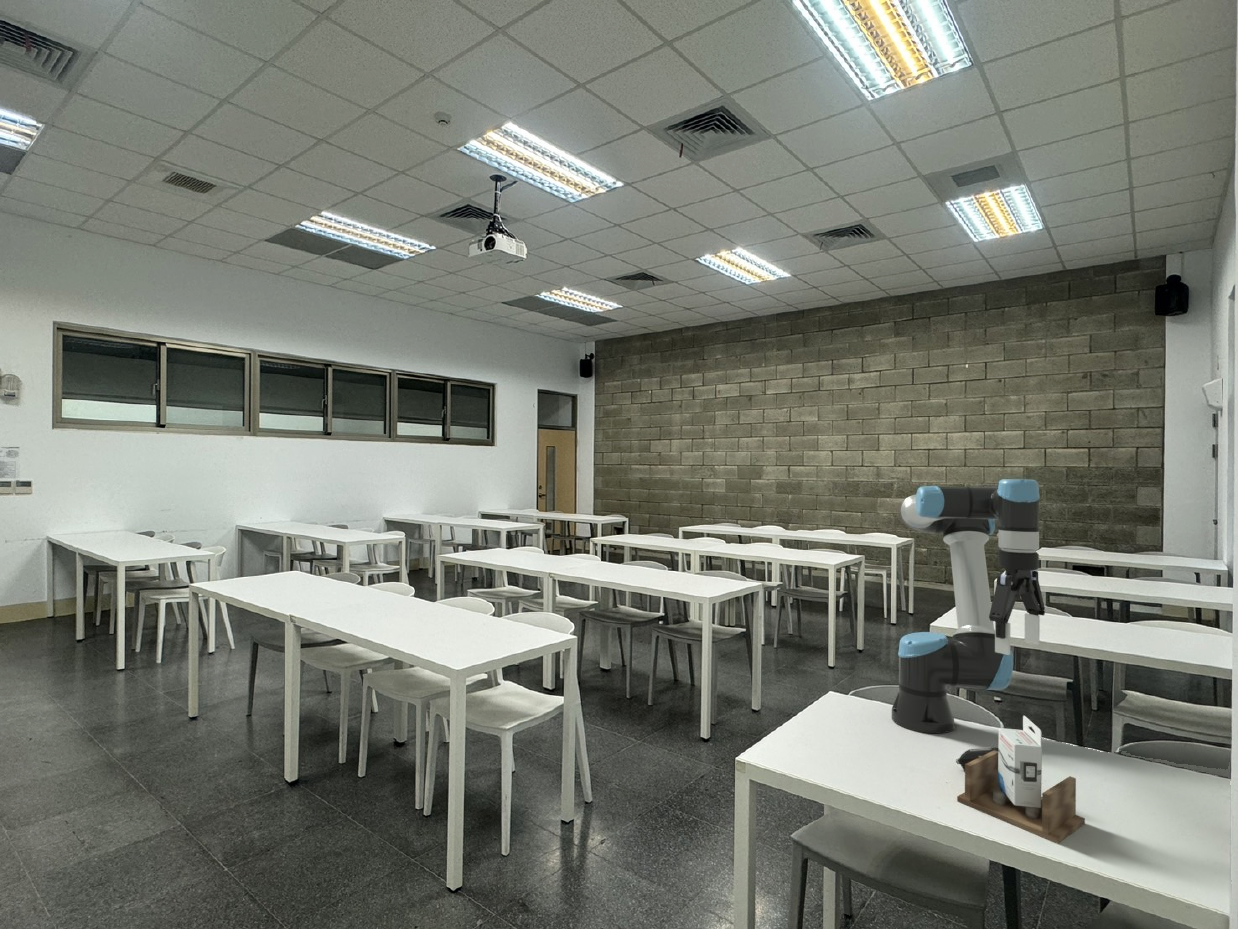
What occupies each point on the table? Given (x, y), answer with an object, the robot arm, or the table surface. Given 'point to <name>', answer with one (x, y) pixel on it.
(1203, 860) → the table surface
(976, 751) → the gun
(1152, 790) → the table surface
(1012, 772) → the ink box
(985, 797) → the peg cradle
